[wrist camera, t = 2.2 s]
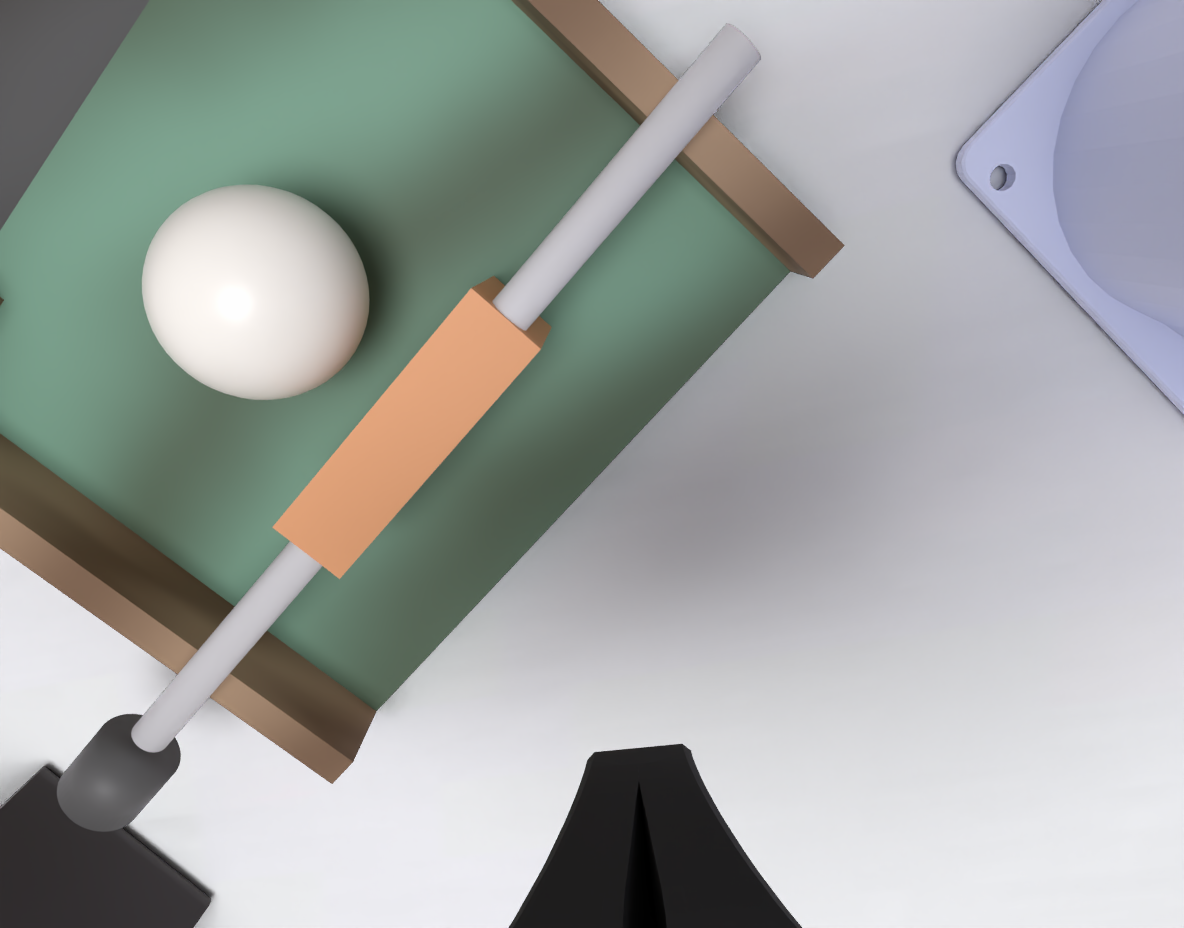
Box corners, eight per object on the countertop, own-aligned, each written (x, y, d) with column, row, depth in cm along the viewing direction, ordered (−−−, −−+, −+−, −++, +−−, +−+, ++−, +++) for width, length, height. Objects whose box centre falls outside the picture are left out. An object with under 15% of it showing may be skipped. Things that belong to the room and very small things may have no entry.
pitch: (806, 240, 18) (844, 245, 15) (367, 709, 22) (332, 784, 19) (-88, -642, 14) (-263, -855, 11) (-442, 111, 18) (-643, 91, 15)
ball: (429, 278, 18) (379, 296, 14) (318, 414, 19) (243, 467, 15) (276, 144, 17) (179, 124, 13) (168, 293, 18) (48, 315, 14)
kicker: (755, 101, 16) (793, 72, 13) (189, 747, 21) (111, 847, 18) (689, 33, 16) (710, -13, 13) (128, 705, 20) (38, 798, 17)
